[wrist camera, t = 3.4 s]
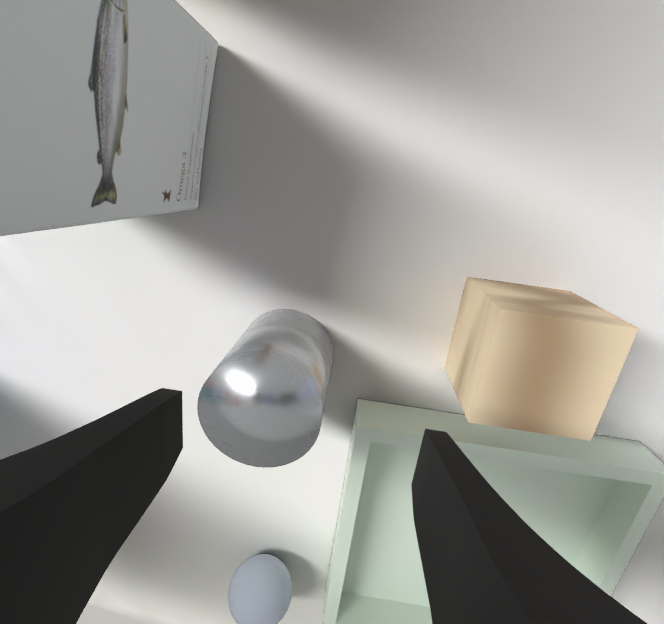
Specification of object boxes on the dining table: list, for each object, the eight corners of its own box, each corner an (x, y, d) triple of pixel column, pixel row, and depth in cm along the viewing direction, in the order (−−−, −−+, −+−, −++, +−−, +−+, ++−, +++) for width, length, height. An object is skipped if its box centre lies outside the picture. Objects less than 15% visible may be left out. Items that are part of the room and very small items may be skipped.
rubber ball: (299, 545, 25) (288, 608, 22) (294, 586, 27) (282, 653, 23) (241, 535, 25) (219, 596, 22) (238, 577, 27) (217, 641, 23)
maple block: (569, 290, 18) (638, 328, 14) (537, 380, 20) (591, 441, 15) (466, 276, 19) (501, 309, 14) (444, 366, 20) (468, 422, 16)
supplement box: (202, 213, 19) (-86, 269, 7) (56, 172, 19) (-495, 157, 7) (226, 41, 16) (-162, -354, 4) (57, -7, 16) (-818, -543, 4)
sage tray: (640, 441, 21) (675, 475, 18) (550, 628, 26) (569, 673, 24) (357, 398, 21) (356, 425, 19) (325, 589, 26) (321, 629, 24)
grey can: (338, 316, 20) (327, 370, 14) (327, 398, 21) (314, 475, 16) (244, 302, 20) (197, 350, 14) (241, 385, 22) (197, 457, 16)
